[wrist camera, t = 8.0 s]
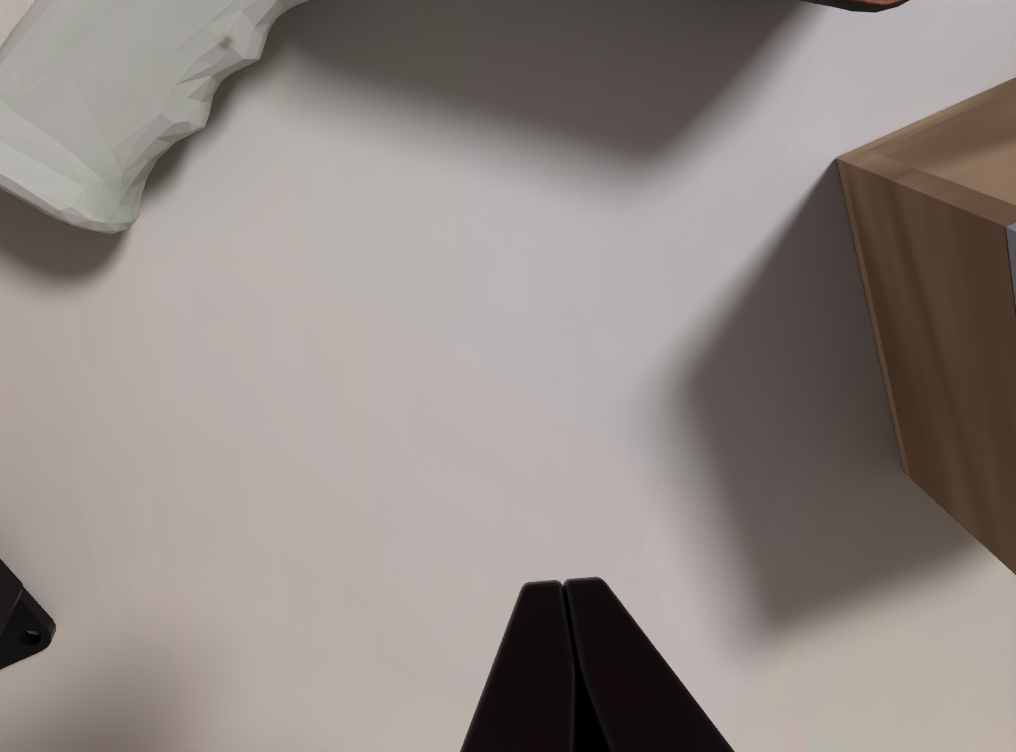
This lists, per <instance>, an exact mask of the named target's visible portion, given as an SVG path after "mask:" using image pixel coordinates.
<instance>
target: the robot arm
mask: <svg viewBox="0 0 1016 752" xmlns="http://www.w3.org/2000/svg"><path fill="white" fill-rule="evenodd" d="M26 630H34V631H36V632H38V633H39V634H38V635H34V634H30V633H29V632H27V631H26ZM55 631H56V624H55V623H54V621H53V619H52V618H51V617H50V616H49V615H48V614H47V613H46V611H45V610H44V609H43V608H42V607H41V606H40V605H39V604H38V603H37V601H36V600H35V599H34V598H33V597H32V596H31V595H30V594H29V593H28V591H27V590H26V589H25V588H24V587H23V584H22V583H21V581H20V580H19V579H18V578H17V577H16V576H15V575H14V574H13V572H12V571H11V570H10V569H9V568H8V567H7V566H6V565H5V563H4V562H3V561H2V560H1V559H0V669H2V668H4V667H7V666H9V665H11V664H13V663H16V662H18V661H20V660H22V659H25V658H27V657H29V656H31V655H34V654H36V653H38V652H40V651H43V650H44V649H45V648H47V647H48V646H49V644H50V643H51V641H52V638H53V636H54V634H55ZM460 752H734V750H733V749H732V748H731V746H730V745H729V744H728V742H727V741H726V740H725V738H724V737H723V736H722V735H721V733H720V732H719V731H718V729H717V728H716V727H715V725H714V724H713V723H712V721H711V720H710V719H709V717H708V716H707V715H706V713H705V712H704V711H703V710H702V708H701V707H700V706H699V704H698V703H697V702H696V700H695V699H694V698H693V696H692V695H691V694H690V692H689V691H688V690H687V689H686V687H685V686H684V685H683V683H682V682H681V681H680V679H679V678H678V677H677V675H676V674H675V673H674V671H673V670H672V669H671V668H670V666H669V665H668V664H667V662H666V661H665V660H664V658H663V657H662V656H661V654H660V653H659V652H658V650H657V649H656V648H655V646H654V645H653V644H652V643H651V641H650V640H649V639H648V637H647V636H646V635H645V633H644V632H643V631H642V629H641V628H640V627H639V625H638V624H637V623H636V622H635V620H634V619H633V618H632V616H631V615H630V614H629V612H628V611H627V610H626V608H625V607H624V606H623V604H622V603H621V602H620V600H619V599H618V598H617V597H616V595H615V594H614V593H613V591H612V590H611V589H610V587H609V586H608V585H607V584H606V582H605V581H604V580H603V579H601V578H599V577H588V578H575V579H568V580H566V581H565V582H564V584H563V586H562V584H561V582H559V581H558V580H550V581H537V582H528V583H526V584H524V585H523V587H522V588H521V591H520V593H519V596H518V598H517V601H516V604H515V606H514V609H513V612H512V614H511V617H510V620H509V622H508V625H507V628H506V630H505V633H504V636H503V639H502V641H501V644H500V647H499V649H498V652H497V655H496V657H495V660H494V663H493V665H492V668H491V671H490V673H489V676H488V679H487V681H486V684H485V687H484V689H483V692H482V695H481V697H480V700H479V703H478V705H477V708H476V711H475V713H474V716H473V719H472V721H471V724H470V727H469V729H468V732H467V735H466V737H465V740H464V743H463V745H462V748H461V751H460Z"/></svg>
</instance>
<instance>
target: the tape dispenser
mask: <svg viewBox="0 0 1016 752" xmlns="http://www.w3.org/2000/svg"><path fill="white" fill-rule="evenodd" d="M306 1H309V0H36V1H35V2H34V4H33V5H32V6H31V7H30V9H29V10H28V11H27V12H26V13H25V15H24V16H23V17H22V18H21V20H20V21H19V22H18V23H17V25H16V26H15V27H14V28H13V30H12V31H11V33H10V34H9V36H8V37H7V39H6V40H5V42H4V43H3V45H2V46H1V48H0V189H2V190H3V191H5V192H7V193H9V194H11V195H13V196H14V197H16V198H18V199H20V200H21V201H23V202H25V203H27V204H28V205H30V206H32V207H33V208H35V209H37V210H39V211H40V212H42V213H44V214H45V215H47V216H50V217H52V218H54V219H57V220H59V221H62V222H64V223H67V224H69V225H71V226H74V227H78V228H82V229H86V230H91V231H95V232H100V233H107V234H114V233H117V232H120V231H124V230H127V229H130V227H131V226H132V225H133V223H134V222H135V221H136V219H137V218H138V217H139V212H140V203H141V197H142V193H143V190H144V186H145V183H146V179H147V178H148V176H149V174H150V172H151V171H152V169H153V167H154V165H155V164H156V162H157V160H158V159H159V158H160V157H161V156H162V155H163V154H164V153H165V152H166V151H167V150H168V149H169V148H170V147H171V146H172V145H173V144H174V143H175V142H177V141H179V140H181V139H183V138H185V137H187V136H189V135H191V134H193V133H195V132H198V131H200V130H202V129H204V128H205V125H206V123H207V120H208V117H209V114H210V109H211V104H212V99H213V95H214V93H215V92H216V90H217V88H218V87H219V85H220V83H221V82H222V80H224V79H225V78H226V77H228V76H229V75H231V74H232V73H234V72H235V71H237V70H240V69H242V68H244V67H246V66H248V65H250V64H252V63H254V62H256V61H258V60H260V57H261V54H262V51H263V48H264V45H265V42H266V39H267V36H268V33H269V30H270V29H271V27H272V26H273V24H274V22H275V21H276V19H277V18H278V17H279V16H281V15H282V14H283V13H285V12H286V11H287V10H289V9H290V8H292V7H293V6H296V5H299V4H301V3H304V2H306ZM802 1H806V2H811V3H815V4H821V5H826V6H832V7H836V8H840V9H845V10H849V11H858V12H879V11H883V10H887V9H891V8H894V7H898V6H900V5H902V4H904V3H905V2H907V1H909V0H802Z"/></svg>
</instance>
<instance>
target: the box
mask: <svg viewBox="0 0 1016 752" xmlns="http://www.w3.org/2000/svg"><path fill="white" fill-rule="evenodd" d="M836 159H837V164H838V168H839V173H840V178H841V182H842V187H843V192H844V196H845V201H846V205H847V210H848V215H849V219H850V224H851V228H852V233H853V238H854V242H855V247H856V252H857V256H858V261H859V265H860V270H861V275H862V279H863V284H864V289H865V293H866V298H867V302H868V307H869V312H870V316H871V321H872V326H873V330H874V335H875V339H876V344H877V349H878V353H879V358H880V363H881V367H882V372H883V376H884V381H885V386H886V390H887V395H888V400H889V404H890V409H891V413H892V418H893V423H894V427H895V432H896V437H897V441H898V446H899V450H900V455H901V460H902V464H903V469H904V473H905V474H906V475H908V476H909V477H910V478H911V479H912V480H913V481H914V482H915V483H916V484H917V485H918V486H920V487H921V488H922V489H923V490H924V491H925V492H926V493H927V494H928V495H929V496H930V497H931V498H933V499H934V500H935V501H936V502H937V503H938V504H939V505H940V506H941V507H942V508H943V509H945V510H946V511H947V512H948V513H949V514H950V515H951V516H952V517H953V518H954V519H955V520H957V521H958V522H959V523H960V524H961V525H962V526H963V527H964V528H965V529H966V530H967V531H968V532H970V533H971V534H972V535H973V536H974V537H975V538H976V539H977V540H978V541H979V542H980V543H982V544H983V545H984V546H985V547H986V548H987V549H988V550H989V551H990V552H991V553H992V554H994V555H995V556H996V557H997V558H998V559H999V560H1000V561H1001V562H1002V563H1003V564H1004V565H1005V566H1007V567H1008V568H1009V569H1010V570H1011V571H1012V572H1013V573H1014V574H1015V575H1016V305H1015V297H1014V289H1013V281H1012V273H1011V265H1010V257H1009V249H1008V241H1007V233H1006V227H1007V226H1009V225H1012V224H1014V223H1016V78H1014V79H1011V80H1009V81H1007V82H1005V83H1003V84H1000V85H998V86H996V87H994V88H991V89H989V90H987V91H985V92H982V93H980V94H978V95H976V96H973V97H971V98H969V99H967V100H965V101H962V102H960V103H958V104H956V105H953V106H951V107H949V108H947V109H944V110H942V111H940V112H938V113H936V114H933V115H931V116H929V117H927V118H924V119H922V120H920V121H918V122H915V123H913V124H911V125H909V126H906V127H904V128H902V129H900V130H898V131H895V132H893V133H891V134H889V135H886V136H884V137H882V138H880V139H877V140H875V141H873V142H871V143H868V144H866V145H864V146H862V147H860V148H857V149H855V150H853V151H851V152H848V153H846V154H844V155H842V156H839V157H837V158H836Z"/></svg>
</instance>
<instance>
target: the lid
mask: <svg viewBox="0 0 1016 752" xmlns="http://www.w3.org/2000/svg"><path fill="white" fill-rule="evenodd" d="M1006 233H1007V241H1008V249H1009V257H1010V265H1011V273H1012V281H1013V289H1014V297H1015V305H1016V223H1014V224H1012V225H1009V226H1007V227H1006Z"/></svg>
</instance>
